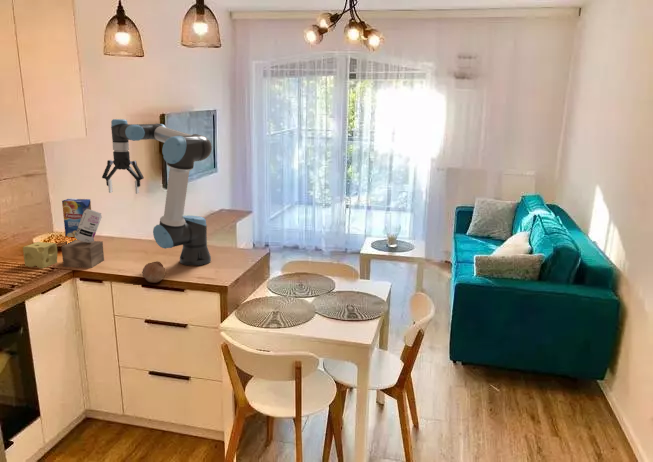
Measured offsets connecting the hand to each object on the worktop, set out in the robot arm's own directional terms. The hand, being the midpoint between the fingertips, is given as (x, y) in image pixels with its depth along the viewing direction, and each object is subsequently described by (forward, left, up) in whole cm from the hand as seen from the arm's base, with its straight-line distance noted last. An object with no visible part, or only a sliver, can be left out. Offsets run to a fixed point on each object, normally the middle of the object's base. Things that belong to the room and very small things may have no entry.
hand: (124, 192), depth 263 cm
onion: (-35, +37, -32) cm, 60 cm away
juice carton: (+35, -10, -32) cm, 48 cm away
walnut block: (+10, +22, -32) cm, 40 cm away
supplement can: (+10, +22, -20) cm, 32 cm away
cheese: (+28, +29, -32) cm, 51 cm away
